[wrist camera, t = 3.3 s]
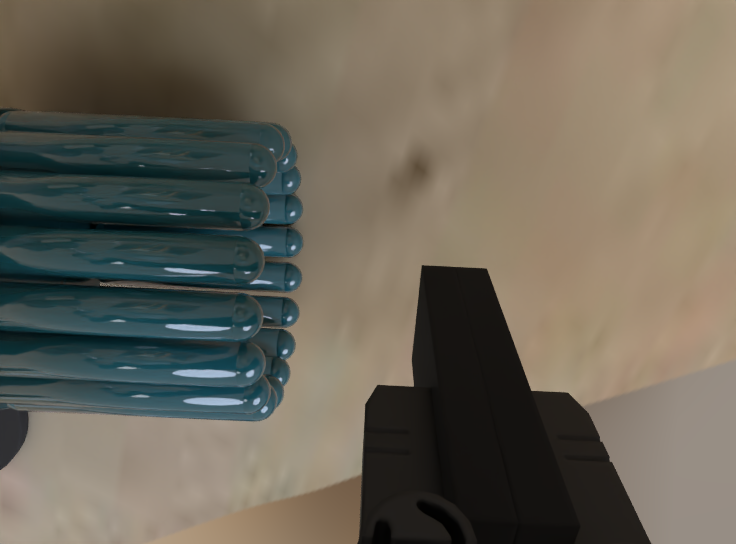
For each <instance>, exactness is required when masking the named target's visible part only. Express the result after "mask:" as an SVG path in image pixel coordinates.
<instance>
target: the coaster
mask: <svg viewBox="0 0 736 544" xmlns="http://www.w3.org/2000/svg"><path fill="white" fill-rule="evenodd" d="M27 430H28V412H27V411H18V410H14V409H12V408H9V409H0V470H1V469H2V468H4V467H5V466H6V465H7V464H8V463H9V462H10V461H11V460H12V459H13V458H14V456H15V455H16V454H17V452H18V451H19V450H20V448H21V446H22V445H23V443H24V441H25V437H26V434H27Z"/></svg>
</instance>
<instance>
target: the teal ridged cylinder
mask: <svg viewBox="0 0 736 544" xmlns="http://www.w3.org/2000/svg"><path fill="white" fill-rule="evenodd" d="M296 161H297V150H296V148H295V146H294V144H293V143H292V139H291V136H290V134H289V132H288V131H287V129H286V128H285V127H283V126H282V125H280V124H277V123H273V122H253V121H233V120H213V119H193V118H173V117H153V116H133V115H113V114H93V113H73V112H53V111H41V112H33V111H25V110H20V109H15V108H5V107H0V409H9V408H12V409H14V410H18V411H34V412H56V413H78V414H100V415H123V416H145V417H167V418H189V419H211V420H233V421H262V420H264V419H267V418H268V417H269V416H271V414H272V413H273V412H274V410H275V409H276V408H277V407H278V406H279V405H280V404H281V402H282V400H283V397H284V386H285V385H286V384H287V382H288V380H289V378H290V367H289V365H288V363H287V362H286V361H285V360H287V359H288V358H290V357H291V356H292V354H293V353H294V351H295V346H296V343H295V339H294V337H293V335H292V334H291V333H290V332H288V331H287V330H284V329H273V328H287V327H290V326H292V325H294V324H295V323H296V322H297V320H298V318H299V313H300V311H299V307H298V305H297V303H296V302H295V301H294V300H293V299H291V298H288V297H277V296H255V295H248V294H245V293H237V292H216V291H195V290H174V289H153V288H131V287H110V286H100V282H102V283H105V284H110V285H131V286H152V287H173V288H194V289H216V290H237V291H258V292H279V293H290V292H293V291H295V290H296V289H297V288H298V287H299V286H300V284H301V282H302V273H301V271H300V269H299V268H298V267H297V266H296V265H295V264H293V263H289V262H273V261H265V257H284V258H290V257H294V256H296V255H297V254H299V252H300V251H301V250H302V247H303V237H302V235H301V233H300V232H299V231H298V230H296V229H295V228H292V227H283V226H262V224H263V223H266V224H293V223H295V222H296V221H298V220H299V219H300V217H301V216H302V213H303V205H302V202H301V200H300V199H299V198H298V197H297V196H296V195H295V194H292V193H294V192H295V191H296V190H297V189H298V188H299V186H300V183H301V175H300V172H299V170H298V168H297V167H296V166H295V164H296ZM261 327H271V328H261Z"/></svg>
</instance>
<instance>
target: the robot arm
mask: <svg viewBox="0 0 736 544" xmlns="http://www.w3.org/2000/svg"><path fill="white" fill-rule="evenodd" d="M412 367H413V379H414V387H407V386H387V385H377V387H376V388H375V390H374V391H373V393H372V395H371V396H370V398H369V399H368V401H367V403H366V404H365V422H364V440H363V458H362V482H361V483H362V484H361V507H360V531H359V541H358V544H651V542H650V540H649V538H648V536H647V534H646V532H645V530H644V528H643V526H642V524H641V522H640V520H639V518H638V516H637V513H636V511H635V509H634V507H633V505H632V503H631V501H630V499H629V497H628V495H627V492H626V491H625V488H624V486H623V484H622V482H621V480H620V478H619V476H618V474H617V472H616V469H615V468H614V465H613V463H612V462H610V461H609V455H608V453H607V451H606V449H605V447H604V444H603V443H602V442H600V436H599V434H598V432H597V430H596V428H595V426H594V424H593V421H592V419H591V417H590V415H589V413H587V411H586V410H585V409H584V408H583V407H582V406H581V405H580V404H579V403H578V402H577V401H576V400H575V399H574V398H573V397H572V396H571V395H570V394H569V393H564V392H543V391H531V389H530V386H529V383H528V381H527V378H526V375H525V372H524V370H523V367H522V364H521V361H520V359H519V356H518V353H517V350H516V348H515V345H514V342H513V339H512V337H511V334H510V331H509V328H508V326H507V323H506V320H505V318H504V315H503V312H502V309H501V307H500V304H499V301H498V298H497V296H496V293H495V290H494V287H493V285H492V282H491V279H490V276H489V274H488V271H487V269H484V268H464V267H444V266H424V265H422V269H421V278H420V288H419V297H418V307H417V316H416V325H415V335H414V344H413V354H412Z"/></svg>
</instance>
